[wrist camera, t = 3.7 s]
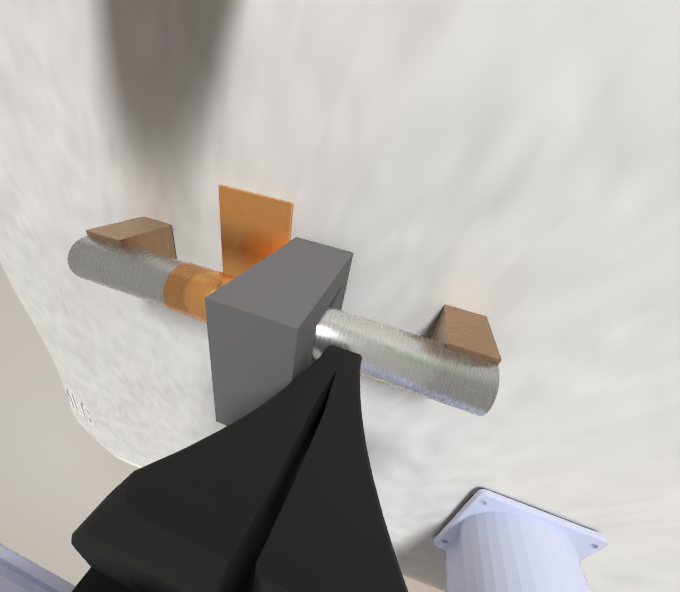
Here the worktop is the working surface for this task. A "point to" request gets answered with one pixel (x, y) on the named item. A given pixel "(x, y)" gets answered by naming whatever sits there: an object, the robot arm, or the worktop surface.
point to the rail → (334, 326)
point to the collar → (270, 323)
